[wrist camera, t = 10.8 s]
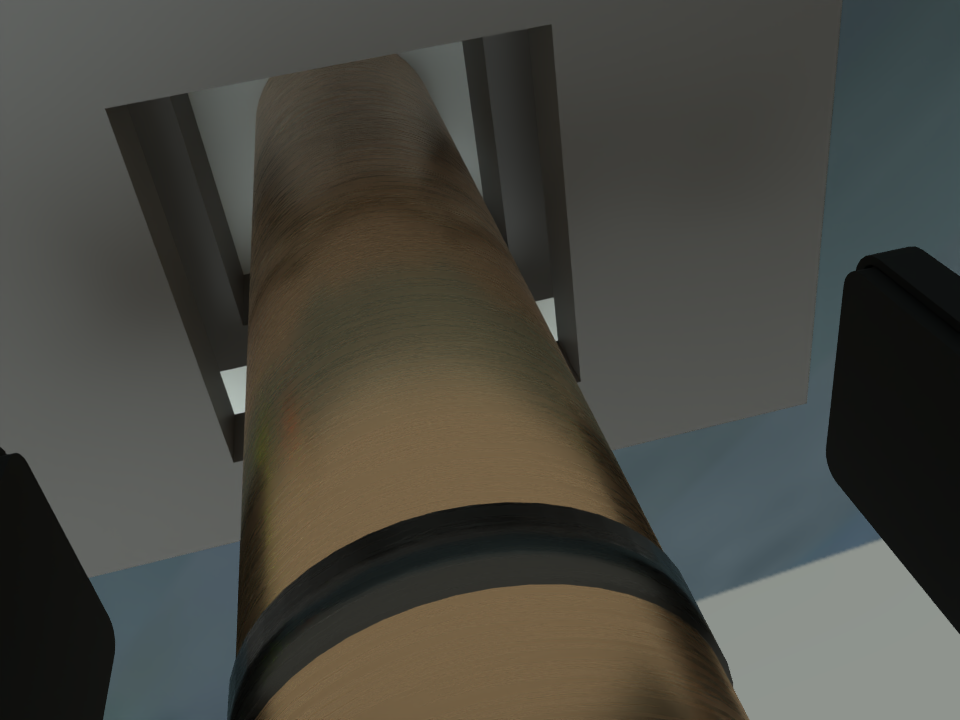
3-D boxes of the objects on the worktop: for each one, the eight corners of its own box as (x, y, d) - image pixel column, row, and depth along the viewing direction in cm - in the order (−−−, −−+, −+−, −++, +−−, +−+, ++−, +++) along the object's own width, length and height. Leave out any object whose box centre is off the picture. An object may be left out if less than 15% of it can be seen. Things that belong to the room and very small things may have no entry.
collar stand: (703, -308, 18) (959, -361, 12) (699, 293, 26) (852, 465, 19) (-238, -165, 16) (-567, -133, 10) (59, 437, 24) (-13, 683, 18)
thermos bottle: (422, 19, 19) (921, 803, 5) (449, 196, 22) (844, 1102, 7) (230, 54, 19) (96, 1032, 4) (279, 229, 21) (305, 1267, 6)
